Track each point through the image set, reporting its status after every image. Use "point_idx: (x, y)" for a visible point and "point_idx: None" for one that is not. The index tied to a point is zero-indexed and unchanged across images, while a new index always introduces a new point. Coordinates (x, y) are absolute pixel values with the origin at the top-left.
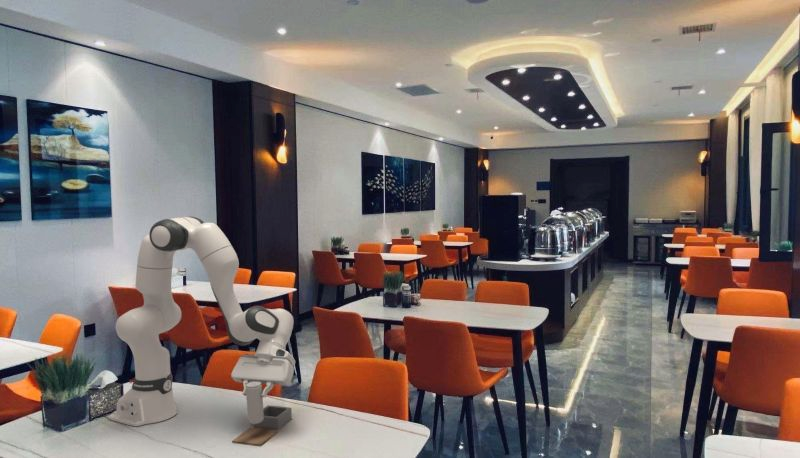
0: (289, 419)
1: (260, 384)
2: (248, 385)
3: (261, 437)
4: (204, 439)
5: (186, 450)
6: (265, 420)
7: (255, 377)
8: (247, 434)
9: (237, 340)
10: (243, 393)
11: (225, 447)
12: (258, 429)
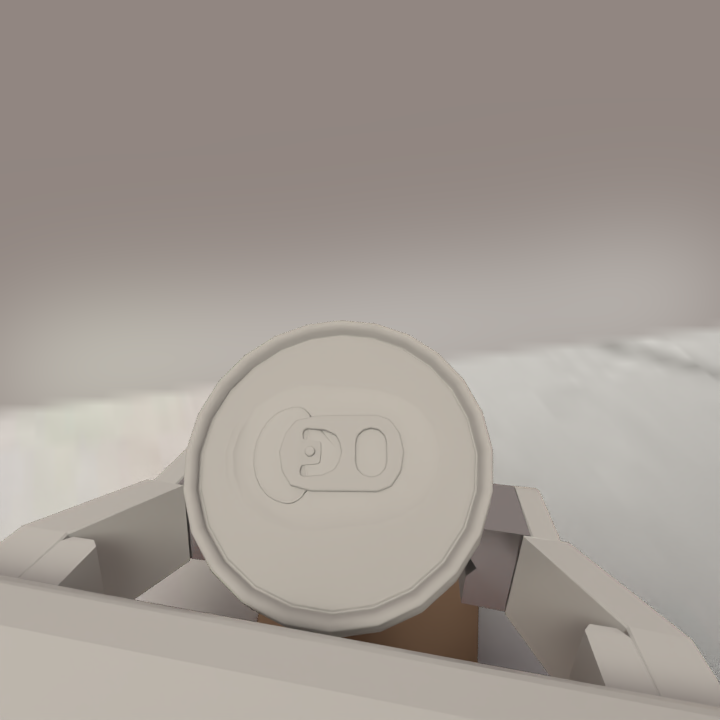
0: None
1: (191, 459)
2: (411, 384)
3: None
4: (675, 471)
5: (663, 344)
6: None
7: (358, 673)
8: None
9: None
10: (520, 489)
11: (483, 396)
12: (397, 633)
